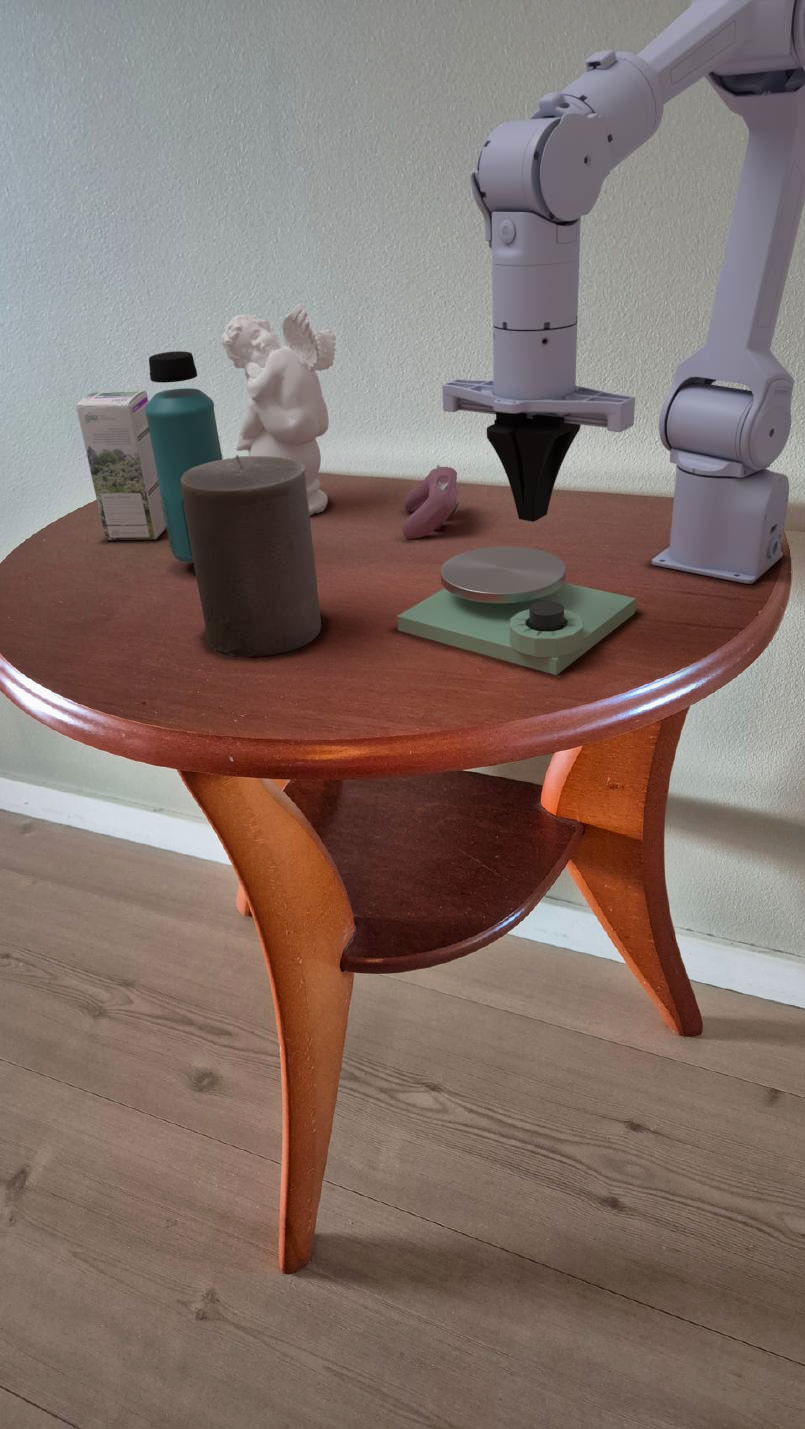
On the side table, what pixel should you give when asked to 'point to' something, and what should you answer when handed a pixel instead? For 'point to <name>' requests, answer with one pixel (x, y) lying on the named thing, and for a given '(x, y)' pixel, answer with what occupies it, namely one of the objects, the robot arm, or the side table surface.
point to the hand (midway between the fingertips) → (532, 516)
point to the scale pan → (503, 574)
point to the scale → (520, 625)
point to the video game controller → (431, 502)
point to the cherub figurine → (283, 391)
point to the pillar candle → (253, 554)
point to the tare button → (546, 616)
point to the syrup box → (122, 464)
